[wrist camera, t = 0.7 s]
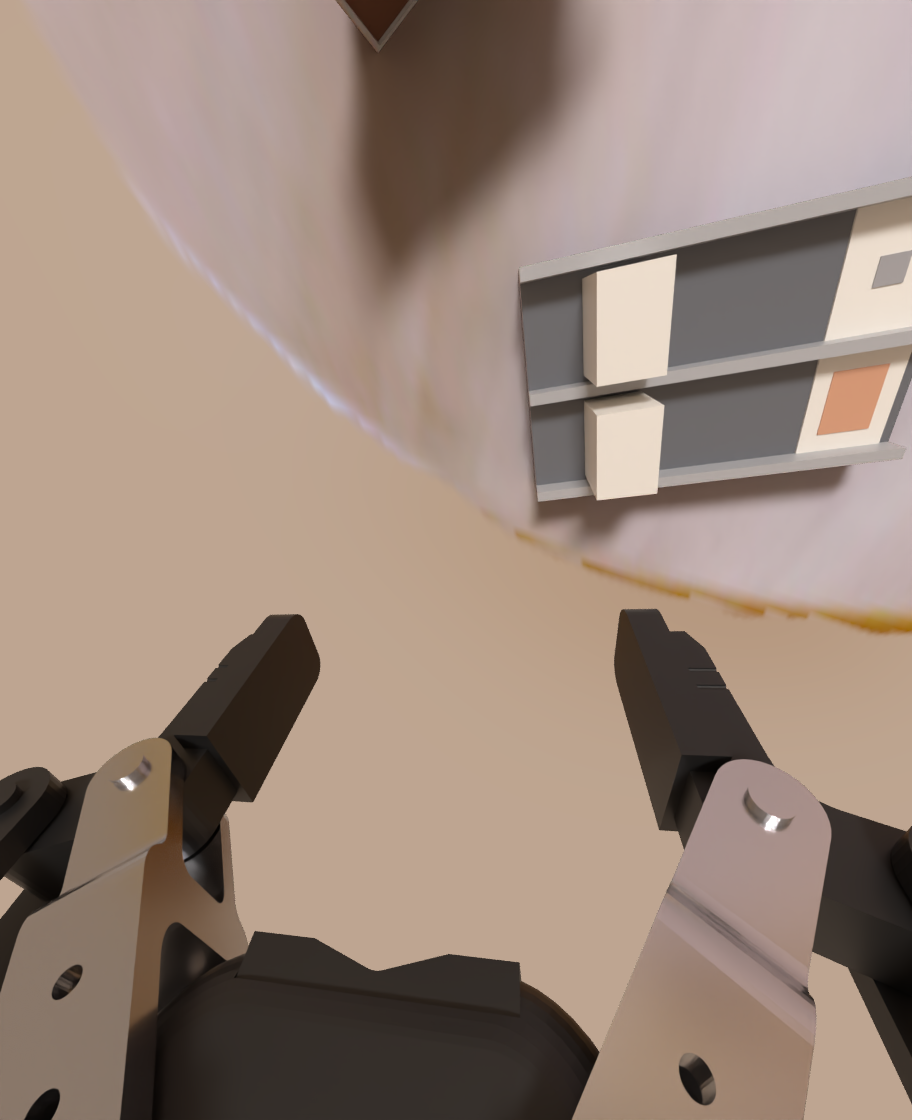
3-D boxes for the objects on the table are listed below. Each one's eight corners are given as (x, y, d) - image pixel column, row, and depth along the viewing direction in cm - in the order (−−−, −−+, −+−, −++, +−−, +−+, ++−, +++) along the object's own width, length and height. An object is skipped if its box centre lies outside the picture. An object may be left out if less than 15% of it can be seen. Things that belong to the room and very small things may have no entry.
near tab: (647, 264, 19) (676, 254, 16) (642, 365, 21) (666, 375, 18) (582, 278, 20) (597, 271, 16) (583, 375, 22) (597, 386, 18)
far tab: (640, 391, 22) (664, 405, 18) (636, 468, 24) (657, 493, 21) (584, 400, 22) (596, 415, 19) (585, 474, 25) (596, 500, 21)
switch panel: (946, 175, 18) (1024, 150, 15) (857, 442, 24) (901, 459, 21) (518, 272, 21) (519, 267, 19) (535, 483, 27) (538, 501, 25)
